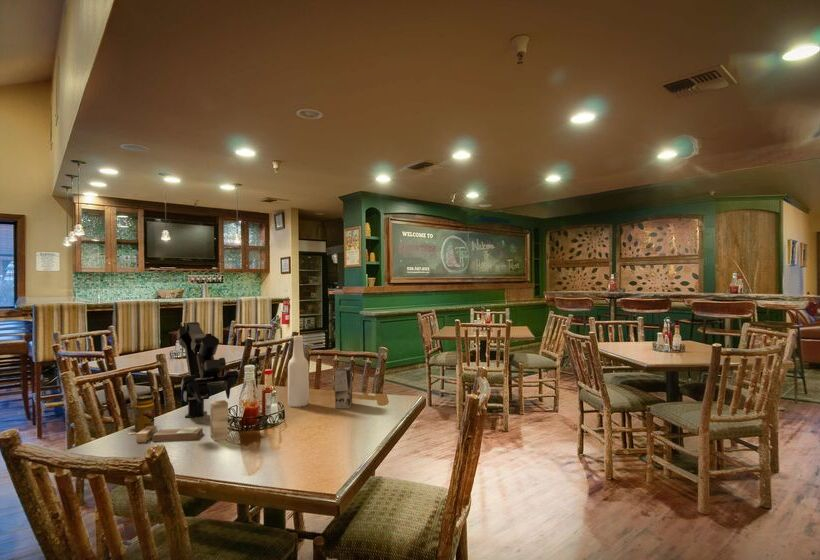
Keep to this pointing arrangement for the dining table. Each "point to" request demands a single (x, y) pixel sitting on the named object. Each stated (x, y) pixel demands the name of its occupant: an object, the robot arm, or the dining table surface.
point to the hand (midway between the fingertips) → (214, 400)
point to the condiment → (143, 413)
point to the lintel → (145, 434)
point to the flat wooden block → (177, 434)
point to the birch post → (219, 420)
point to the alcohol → (298, 376)
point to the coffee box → (343, 387)
